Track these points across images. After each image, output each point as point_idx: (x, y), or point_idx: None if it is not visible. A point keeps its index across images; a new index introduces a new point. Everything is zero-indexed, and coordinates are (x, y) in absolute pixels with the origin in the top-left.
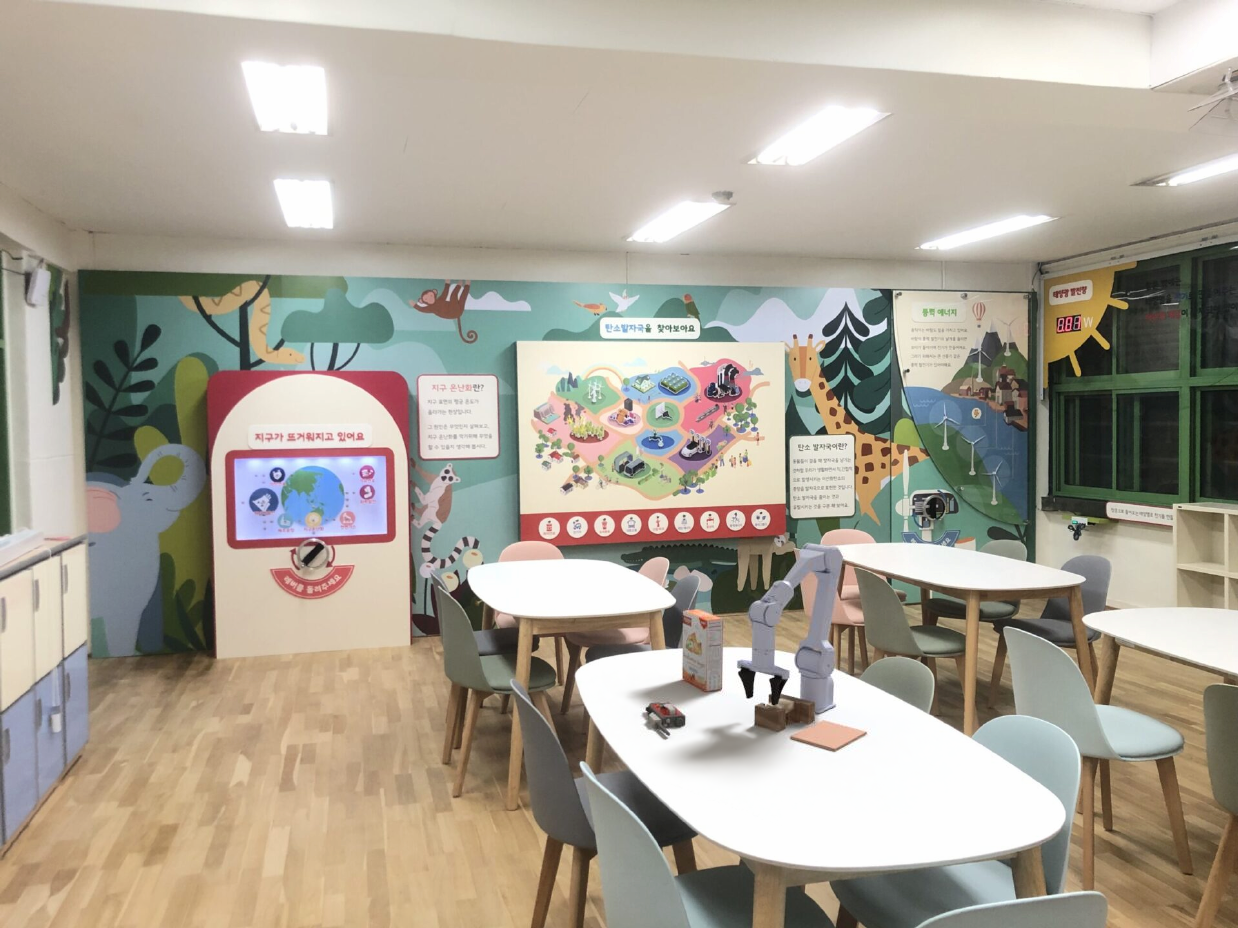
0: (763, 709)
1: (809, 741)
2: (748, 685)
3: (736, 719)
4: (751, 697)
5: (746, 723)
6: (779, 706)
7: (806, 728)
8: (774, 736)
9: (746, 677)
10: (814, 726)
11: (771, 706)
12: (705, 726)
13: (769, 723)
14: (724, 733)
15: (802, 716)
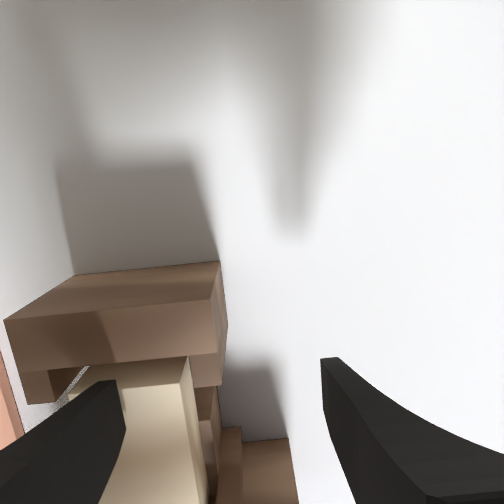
0: (135, 301)
1: None
2: (357, 437)
3: (339, 256)
4: (322, 394)
5: (263, 249)
6: None
7: (2, 397)
8: (35, 208)
9: (398, 488)
10: (2, 443)
11: (138, 383)
12: (390, 18)
13: (115, 279)
14: (235, 14)
15: None
